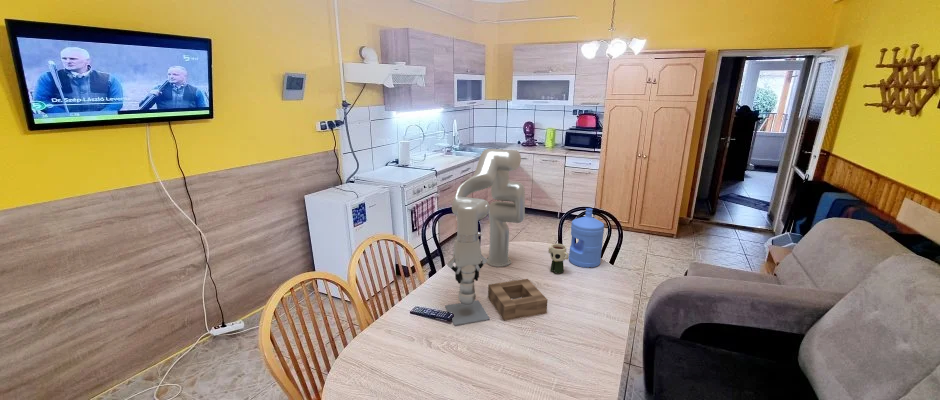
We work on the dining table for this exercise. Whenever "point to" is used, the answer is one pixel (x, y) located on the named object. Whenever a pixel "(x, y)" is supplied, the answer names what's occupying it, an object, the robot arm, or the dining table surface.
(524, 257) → the dining table surface
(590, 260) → the water jug
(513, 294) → the bore block
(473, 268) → the plastic bottle
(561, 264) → the character mug
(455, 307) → the pad
